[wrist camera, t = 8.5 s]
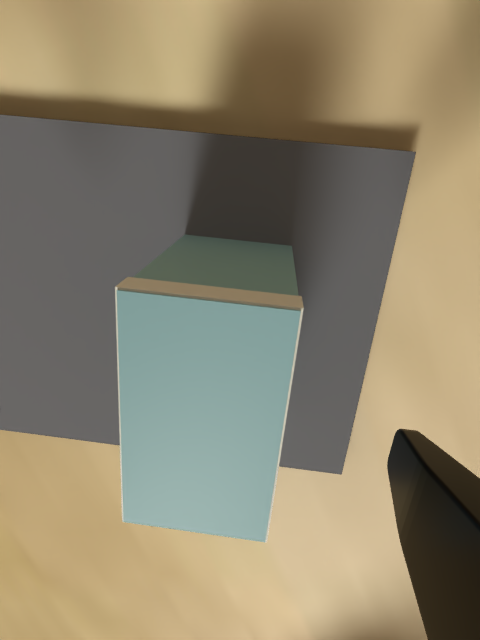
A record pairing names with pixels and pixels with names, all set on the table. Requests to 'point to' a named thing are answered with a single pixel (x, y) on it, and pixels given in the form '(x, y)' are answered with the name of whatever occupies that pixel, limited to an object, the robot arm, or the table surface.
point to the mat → (163, 231)
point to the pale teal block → (206, 384)
